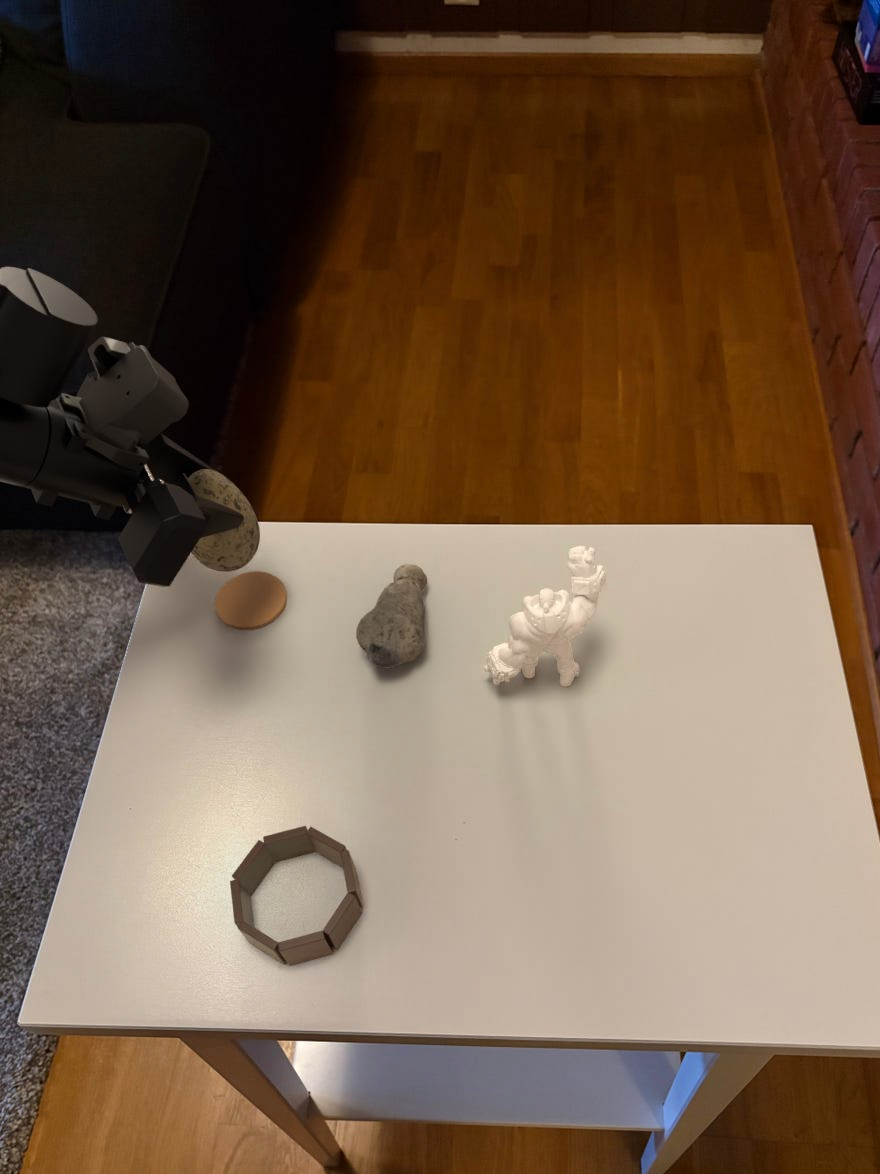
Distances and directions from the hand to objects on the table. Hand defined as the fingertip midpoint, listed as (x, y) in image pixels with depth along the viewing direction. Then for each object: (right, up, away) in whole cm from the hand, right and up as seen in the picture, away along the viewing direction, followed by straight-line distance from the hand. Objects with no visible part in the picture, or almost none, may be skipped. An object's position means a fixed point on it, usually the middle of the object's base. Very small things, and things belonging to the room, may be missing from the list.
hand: (228, 499), depth 71 cm
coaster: (-1, -8, +10) cm, 12 cm away
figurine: (+25, -13, +5) cm, 29 cm away
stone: (+13, -10, +8) cm, 18 cm away
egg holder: (+7, -30, -6) cm, 32 cm away
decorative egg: (-1, -4, +5) cm, 7 cm away
